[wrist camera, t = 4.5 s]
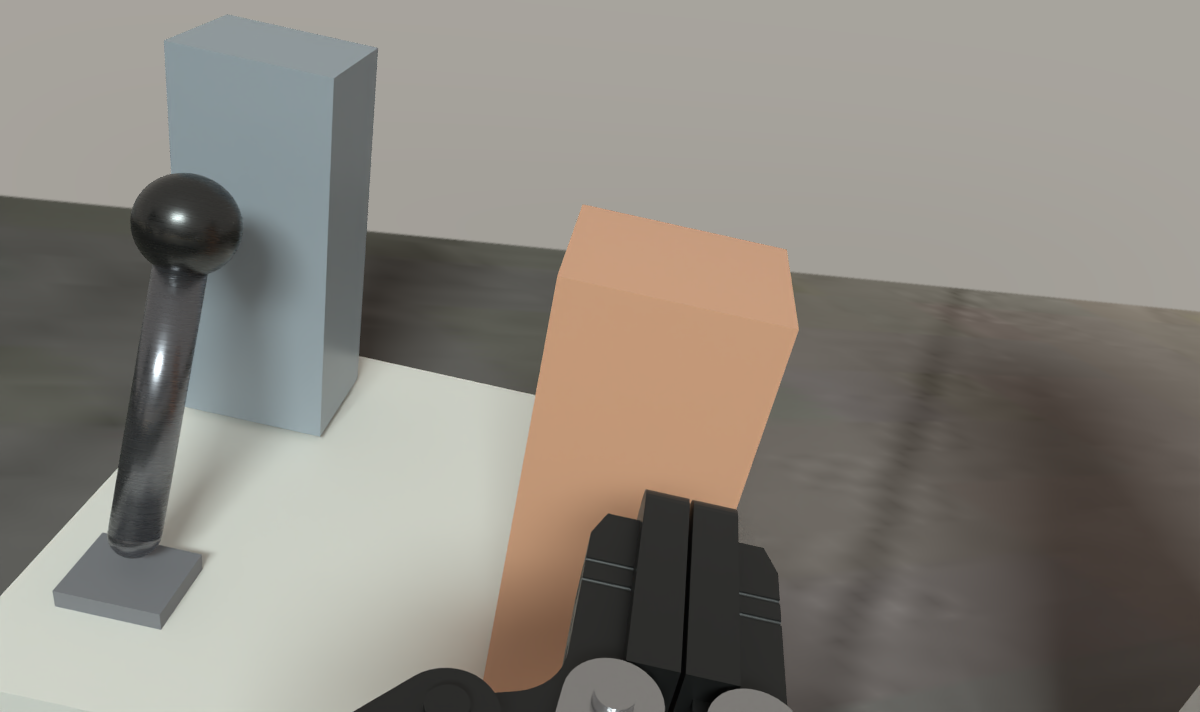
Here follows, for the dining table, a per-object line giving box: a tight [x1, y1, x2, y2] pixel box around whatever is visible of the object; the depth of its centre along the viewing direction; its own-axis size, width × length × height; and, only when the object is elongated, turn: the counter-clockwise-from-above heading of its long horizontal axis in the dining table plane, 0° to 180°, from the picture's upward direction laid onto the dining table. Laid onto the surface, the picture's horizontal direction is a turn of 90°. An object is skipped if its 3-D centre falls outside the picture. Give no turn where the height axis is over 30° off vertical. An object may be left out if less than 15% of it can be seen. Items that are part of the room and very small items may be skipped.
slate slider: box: [164, 15, 378, 437], centre depth 32 cm, size 4×5×13 cm
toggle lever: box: [107, 173, 243, 559], centre depth 26 cm, size 3×3×11 cm
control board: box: [0, 356, 535, 712], centre depth 32 cm, size 18×20×4 cm
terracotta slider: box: [483, 205, 799, 693], centre depth 24 cm, size 4×5×13 cm
